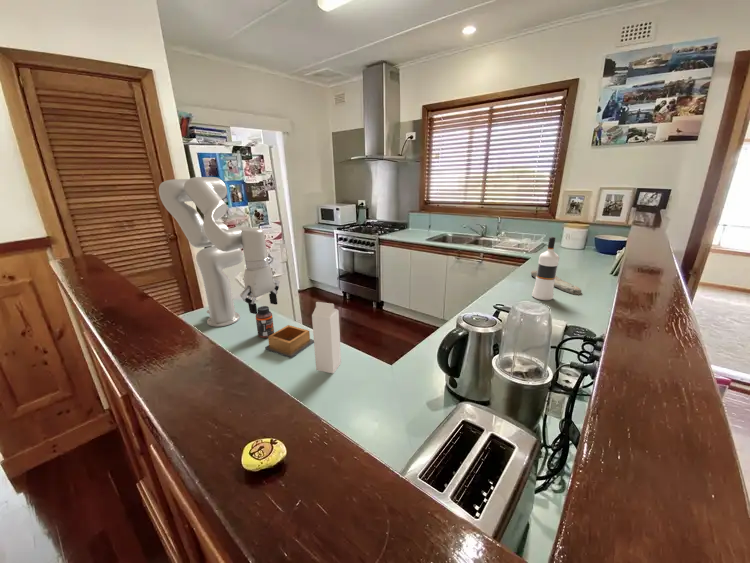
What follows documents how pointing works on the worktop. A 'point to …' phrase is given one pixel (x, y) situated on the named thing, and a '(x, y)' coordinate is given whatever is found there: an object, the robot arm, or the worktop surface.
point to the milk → (326, 337)
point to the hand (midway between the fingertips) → (264, 308)
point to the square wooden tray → (289, 341)
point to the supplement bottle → (264, 322)
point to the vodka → (546, 273)
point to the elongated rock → (562, 285)
